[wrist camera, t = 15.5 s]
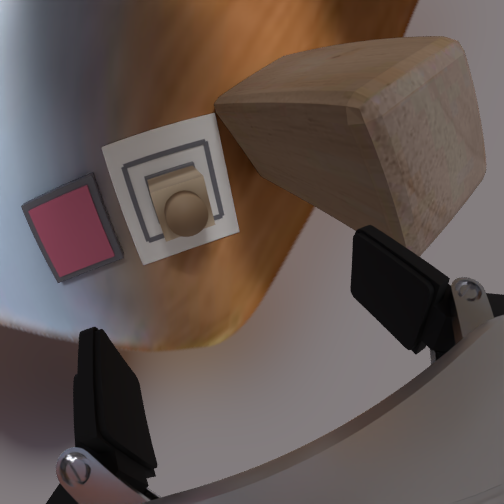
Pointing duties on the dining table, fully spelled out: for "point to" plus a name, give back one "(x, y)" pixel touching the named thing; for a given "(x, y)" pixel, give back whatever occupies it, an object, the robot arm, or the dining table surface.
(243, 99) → the wooden block
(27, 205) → the ink pad
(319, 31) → the dining table surface
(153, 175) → the stamp
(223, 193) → the paper sheet
